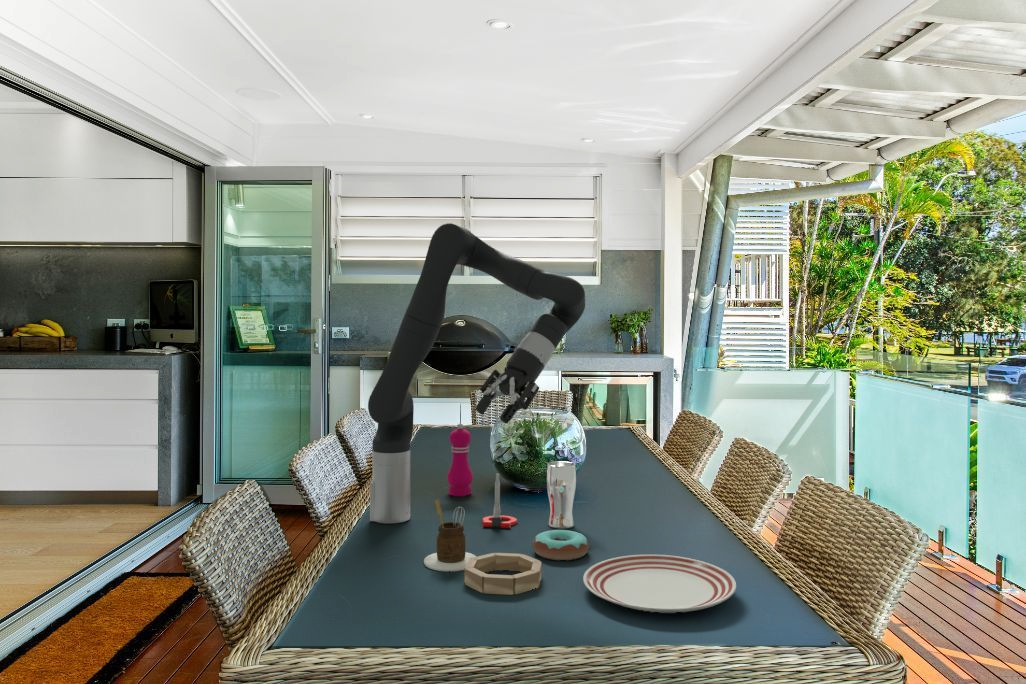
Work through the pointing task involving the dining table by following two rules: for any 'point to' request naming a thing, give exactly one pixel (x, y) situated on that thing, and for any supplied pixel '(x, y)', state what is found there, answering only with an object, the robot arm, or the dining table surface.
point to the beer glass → (561, 493)
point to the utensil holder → (450, 540)
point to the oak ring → (503, 583)
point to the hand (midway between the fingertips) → (490, 416)
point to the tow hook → (498, 512)
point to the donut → (560, 545)
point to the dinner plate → (660, 583)
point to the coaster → (437, 565)
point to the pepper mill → (460, 463)
